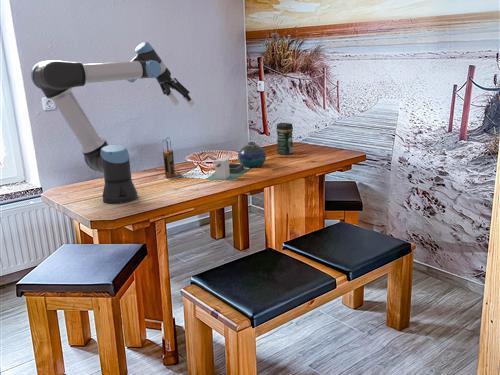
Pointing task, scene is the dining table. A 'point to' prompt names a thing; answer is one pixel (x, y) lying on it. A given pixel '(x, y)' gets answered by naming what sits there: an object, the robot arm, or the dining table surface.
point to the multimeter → (169, 162)
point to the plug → (222, 168)
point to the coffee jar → (284, 138)
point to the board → (231, 172)
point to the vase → (252, 155)
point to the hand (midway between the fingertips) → (184, 104)
